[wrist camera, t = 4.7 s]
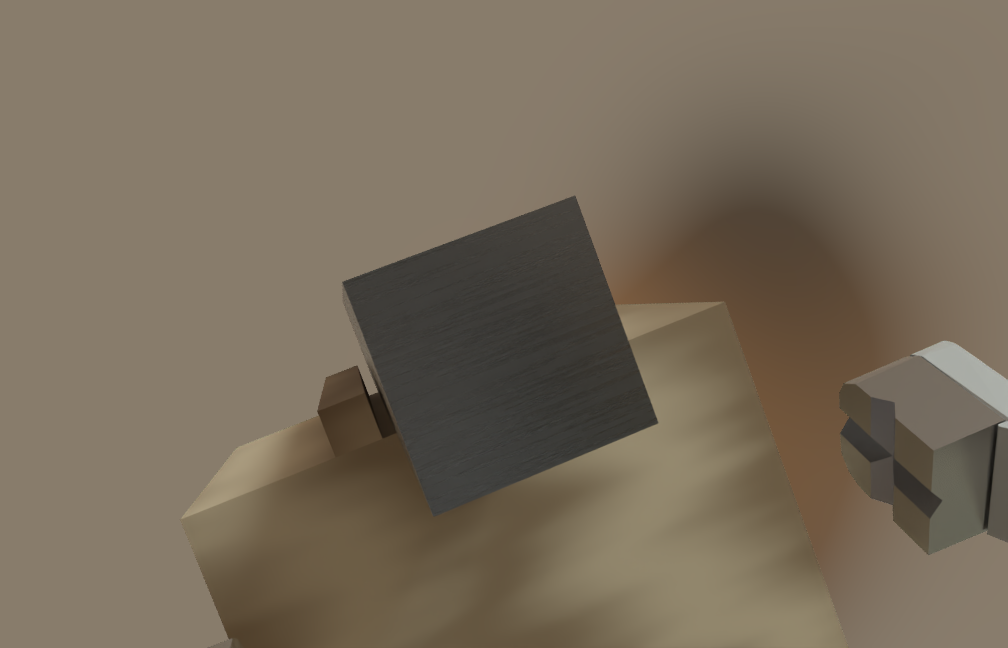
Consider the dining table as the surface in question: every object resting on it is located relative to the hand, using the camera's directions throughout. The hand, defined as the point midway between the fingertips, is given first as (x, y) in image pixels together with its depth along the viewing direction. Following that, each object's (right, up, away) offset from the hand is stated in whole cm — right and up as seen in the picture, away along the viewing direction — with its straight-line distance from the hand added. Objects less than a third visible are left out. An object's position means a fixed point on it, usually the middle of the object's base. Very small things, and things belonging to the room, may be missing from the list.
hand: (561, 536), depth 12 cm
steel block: (-2, +1, +10) cm, 10 cm away
